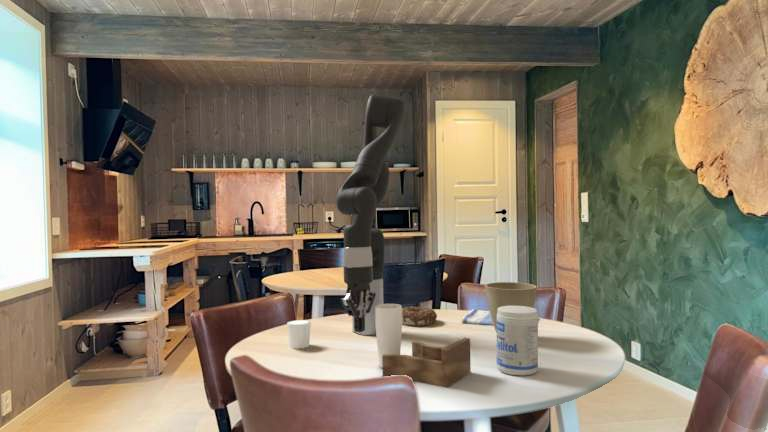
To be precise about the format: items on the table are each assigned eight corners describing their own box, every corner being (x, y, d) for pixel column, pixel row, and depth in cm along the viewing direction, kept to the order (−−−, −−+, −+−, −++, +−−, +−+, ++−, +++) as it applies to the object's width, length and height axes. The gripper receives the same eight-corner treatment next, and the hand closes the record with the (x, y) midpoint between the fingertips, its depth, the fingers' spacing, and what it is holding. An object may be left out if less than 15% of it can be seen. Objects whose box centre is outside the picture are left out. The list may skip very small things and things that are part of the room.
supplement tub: (489, 371, 117) (488, 309, 117) (507, 361, 124) (506, 303, 124) (528, 379, 111) (527, 314, 111) (545, 369, 118) (544, 307, 118)
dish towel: (471, 315, 185) (471, 307, 185) (537, 319, 175) (537, 311, 175) (459, 325, 169) (459, 316, 169) (530, 330, 159) (530, 321, 159)
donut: (390, 325, 169) (389, 310, 169) (409, 317, 181) (408, 303, 180) (427, 329, 161) (427, 314, 161) (444, 321, 173) (444, 307, 173)
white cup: (315, 343, 145) (315, 320, 145) (304, 350, 138) (303, 325, 138) (294, 342, 147) (294, 318, 147) (282, 348, 141) (282, 323, 141)
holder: (380, 377, 114) (380, 342, 114) (414, 359, 127) (413, 329, 127) (444, 390, 105) (443, 352, 105) (473, 370, 118) (473, 336, 118)
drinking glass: (400, 371, 118) (399, 308, 118) (373, 370, 119) (372, 308, 119) (405, 362, 125) (404, 303, 125) (378, 361, 126) (377, 303, 126)
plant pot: (506, 347, 137) (505, 290, 137) (476, 336, 151) (475, 284, 151) (548, 341, 143) (547, 286, 143) (515, 330, 157) (514, 280, 157)
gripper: (360, 262, 135) (362, 325, 135) (330, 266, 124) (332, 335, 124) (383, 262, 131) (385, 327, 131) (355, 267, 120) (356, 338, 120)
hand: (359, 331), depth 127 cm, fingers closed
